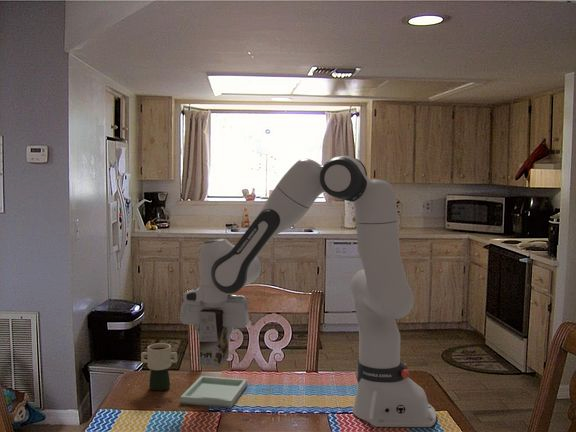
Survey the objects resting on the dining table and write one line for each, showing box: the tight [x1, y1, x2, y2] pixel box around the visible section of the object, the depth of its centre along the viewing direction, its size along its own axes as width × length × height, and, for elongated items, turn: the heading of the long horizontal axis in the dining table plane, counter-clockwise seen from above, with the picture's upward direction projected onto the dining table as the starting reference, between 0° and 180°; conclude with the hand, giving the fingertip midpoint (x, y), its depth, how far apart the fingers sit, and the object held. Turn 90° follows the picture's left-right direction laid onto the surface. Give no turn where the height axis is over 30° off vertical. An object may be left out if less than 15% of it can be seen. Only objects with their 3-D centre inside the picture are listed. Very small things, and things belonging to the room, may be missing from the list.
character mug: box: [140, 342, 178, 391], centre depth 177 cm, size 11×7×13 cm, turn 91°
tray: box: [179, 375, 248, 409], centre depth 173 cm, size 15×17×2 cm
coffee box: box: [198, 309, 230, 368], centre depth 172 cm, size 9×6×16 cm
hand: (214, 340), depth 172 cm, fingers closed on coffee box, 6 cm apart
